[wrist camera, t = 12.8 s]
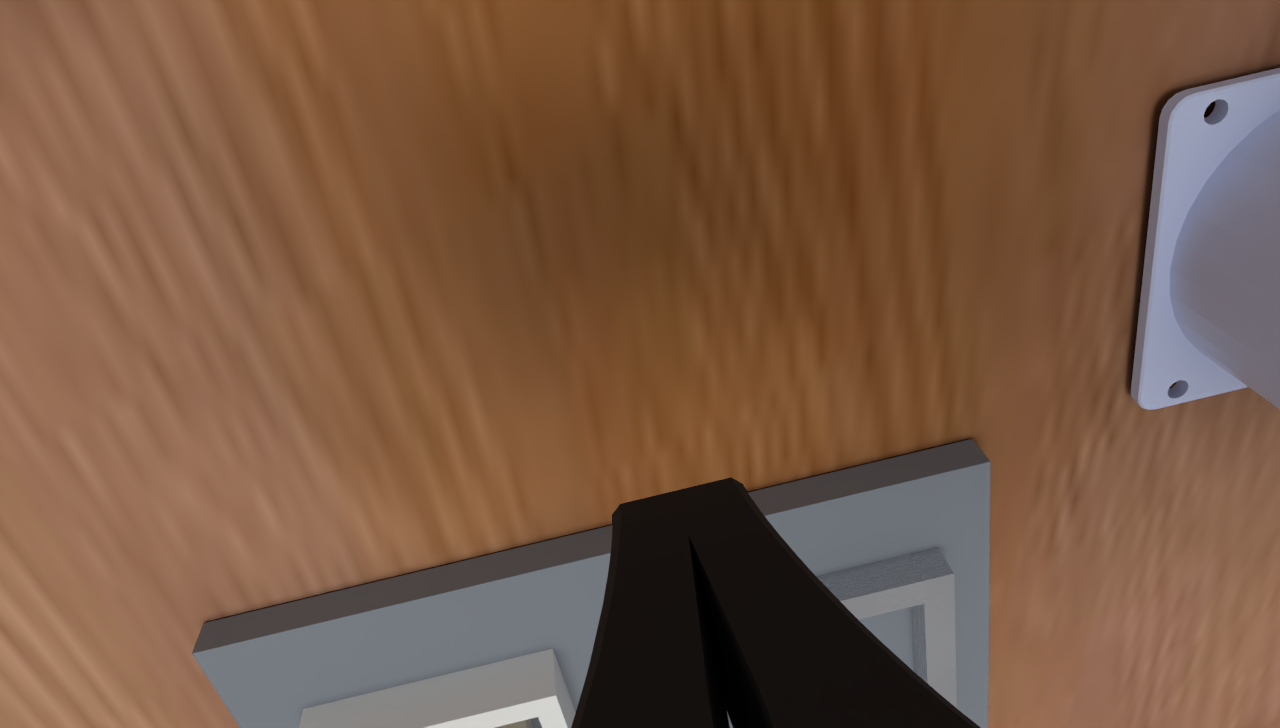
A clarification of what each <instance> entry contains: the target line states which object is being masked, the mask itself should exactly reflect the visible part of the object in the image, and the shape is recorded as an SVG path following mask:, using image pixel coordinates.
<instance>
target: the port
mask: <svg viewBox="0 0 1280 728" xmlns="http://www.w3.org/2000/svg"><path fill="white" fill-rule="evenodd" d="M574 716H575V710H574V707H573V704H572V701H571V699H570V696H569V693H568V690H567V687H566V684H565V682H564V679H563V676H562V673H561V670H560V667H559V664H558V662H557V659H556V656H555V653H554V650H553V649H549V650H545V651H541V652H537V653H533V654H528V655H524V656H520V657H516V658H512V659H508V660H504V661H500V662H495V663H491V664H487V665H483V666H479V667H475V668H471V669H466V670H462V671H458V672H454V673H450V674H446V675H442V676H438V677H433V678H429V679H425V680H421V681H417V682H413V683H409V684H405V685H400V686H396V687H392V688H388V689H384V690H380V691H376V692H372V693H367V694H363V695H359V696H355V697H351V698H347V699H343V700H338V701H334V702H330V703H326V704H322V705H318V706H314V707H310V708H305V709H303V712H302V716H301V720H300V725H299V728H495V727H499V726H503V725H507V724H511V723H515V722H519V721H523V720H528V719H532V718H536V717H538V718H539V721H540V723H541V726H542V728H571V727H572V723H573V720H574Z"/></svg>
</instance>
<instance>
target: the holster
mask: <svg viewBox="0 0 1280 728" xmlns="http://www.w3.org/2000/svg"><path fill="white" fill-rule="evenodd" d="M816 577H817V578H818V579H819V580H820V581H821V582H822V583H823V584H824V585H825V586H826V587H827V588H828V589H829V590H830V591H831V592H832V593H833V594H834V595H835V596H836V597H837V598H838V599H839V601H840V602H841V603H842V604H843V605H844V606H845V607H846V608H847V609H848V610H849V611H850V612H851V613H852V614H853V615H854V616H855V617H856V618H857V619H858V620H859V619H863V618H867V617H872V616H876V615H880V614H884V613H888V612H892V611H896V610H900V609H904V608H909V607H911V625H912V644H913V663H914V672H915V673H916V674H917V675H918V676H920V677H921V678H922V679H923V680H924V681H925V682H926V683H928V684H929V685H930V686H931V687H932V688H933V689H934V690H936V691H937V692H938V693H939V694H940V695H941V696H943V697H944V698H945V699H946V700H947V701H949V702H950V703H951V704H952V705H953V706H955V707H956V708H957V700H956V643H955V586H954V572H953V571H952V569H951V568H950V566H949V564H948V563H947V561H946V560H945V558H944V556H943V555H942V553H941V551H940V550H939V548H938V547H935V548H931V549H927V550H923V551H919V552H914V553H910V554H906V555H902V556H898V557H894V558H890V559H885V560H881V561H877V562H873V563H869V564H865V565H861V566H857V567H852V568H848V569H844V570H840V571H836V572H832V573H828V574H823V575H819V576H816Z"/></svg>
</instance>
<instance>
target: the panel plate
mask: <svg viewBox="0 0 1280 728" xmlns="http://www.w3.org/2000/svg"><path fill="white" fill-rule="evenodd" d="M990 465H991V462H990V460H989V459H988V458H987V457H986V455H985V454H984V453H983V452H982V450H981V449H980V448H979V447H978V445H977V444H976V443H975V442H974V440H973V439H969V440H965V441H961V442H957V443H952V444H948V445H944V446H940V447H936V448H932V449H927V450H923V451H919V452H915V453H911V454H907V455H902V456H898V457H894V458H890V459H886V460H882V461H877V462H873V463H869V464H865V465H861V466H857V467H852V468H848V469H844V470H840V471H836V472H832V473H827V474H823V475H819V476H815V477H811V478H807V479H802V480H798V481H794V482H790V483H786V484H782V485H777V486H773V487H769V488H765V489H761V490H757V491H752V492H748V494H749V495H750V497H751V498H752V499H753V501H754V502H755V504H756V505H757V506H758V508H759V509H760V511H761V512H762V513H763V515H764V516H765V517H766V518H767V520H768V521H769V522H770V524H771V525H772V526H773V527H774V529H775V530H776V531H777V532H778V533H779V535H780V536H781V537H782V538H783V539H784V541H785V542H786V543H787V544H788V545H789V546H790V548H791V549H792V550H793V551H794V552H795V553H796V555H797V556H798V557H799V558H800V559H801V560H802V561H803V562H804V564H805V565H806V566H807V567H808V568H809V569H810V570H811V571H812V572H813V574H814V575H815V576H819V575H823V574H828V573H832V572H836V571H840V570H844V569H848V568H852V567H857V566H861V565H865V564H869V563H873V562H877V561H881V560H885V559H890V558H894V557H898V556H902V555H906V554H910V553H914V552H919V551H923V550H927V549H931V548H935V547H938V548H939V550H940V551H941V553H942V555H943V556H944V558H945V560H946V561H947V563H948V564H949V566H950V568H951V569H952V571H953V572H954V586H955V643H956V700H957V709H958V710H959V711H961V712H962V713H963V714H964V715H966V716H967V717H968V718H969V719H971V720H972V721H973V722H974V723H976V724H977V725H978V726H979V727H981V728H988V669H989V567H990ZM611 543H612V525H611V526H606V527H602V528H598V529H594V530H590V531H586V532H581V533H577V534H573V535H569V536H565V537H561V538H556V539H552V540H548V541H544V542H540V543H536V544H531V545H527V546H523V547H519V548H515V549H511V550H506V551H502V552H498V553H494V554H490V555H486V556H481V557H477V558H473V559H469V560H465V561H461V562H456V563H452V564H448V565H444V566H440V567H436V568H431V569H427V570H423V571H419V572H415V573H411V574H406V575H402V576H398V577H394V578H390V579H386V580H381V581H377V582H373V583H369V584H365V585H361V586H356V587H352V588H348V589H344V590H340V591H336V592H331V593H327V594H323V595H319V596H315V597H311V598H306V599H302V600H298V601H294V602H290V603H286V604H281V605H277V606H273V607H269V608H265V609H261V610H256V611H252V612H248V613H244V614H240V615H236V616H231V617H227V618H223V619H219V620H215V621H211V622H206V623H204V624H203V626H202V629H201V631H200V634H199V637H198V639H197V642H196V644H195V647H194V650H193V652H192V655H193V656H194V658H195V659H196V661H197V662H198V664H199V665H200V667H201V668H202V670H203V671H204V673H205V674H206V676H207V678H208V679H209V681H210V682H211V684H212V685H213V687H214V688H215V690H216V691H217V693H218V694H219V696H220V697H221V699H222V700H223V702H224V704H225V705H226V707H227V708H228V710H229V711H230V713H231V714H232V716H233V717H234V719H235V720H236V722H237V723H238V725H239V727H240V728H299V725H300V720H301V716H302V712H303V709H305V708H310V707H314V706H318V705H322V704H326V703H330V702H334V701H338V700H343V699H347V698H351V697H355V696H359V695H363V694H367V693H372V692H376V691H380V690H384V689H388V688H392V687H396V686H400V685H405V684H409V683H413V682H417V681H421V680H425V679H429V678H433V677H438V676H442V675H446V674H450V673H454V672H458V671H462V670H466V669H471V668H475V667H479V666H483V665H487V664H491V663H495V662H500V661H504V660H508V659H512V658H516V657H520V656H524V655H528V654H533V653H537V652H541V651H545V650H549V649H553V650H554V653H555V656H556V659H557V662H558V664H559V667H560V670H561V673H562V676H563V679H564V682H565V684H566V687H567V690H568V693H569V696H570V699H571V701H572V704H573V707H574V710H575V713H576V710H577V706H578V703H579V699H580V696H581V693H582V689H583V686H584V682H585V679H586V675H587V671H588V668H589V664H590V659H591V655H592V651H593V646H594V642H595V637H596V633H597V628H598V624H599V619H600V615H601V610H602V606H603V600H604V594H605V588H606V583H607V577H608V570H609V563H610V554H611ZM859 621H860V622H861V623H862V624H863V625H864V626H865V627H866V628H867V629H868V630H869V631H871V632H872V633H873V634H874V635H875V636H876V637H877V638H878V639H879V640H880V641H881V642H882V643H883V644H884V645H885V646H886V647H888V648H889V649H890V650H891V651H892V652H893V653H894V654H895V655H896V656H897V657H898V658H900V659H901V660H902V661H903V662H904V663H905V664H906V665H907V666H908V667H909V668H911V669H912V670H913V671H914V663H913V644H912V625H911V607H909V608H904V609H900V610H896V611H892V612H888V613H884V614H880V615H876V616H872V617H867V618H863V619H859ZM727 714H728V713H727ZM728 720H729V726H730V728H733V727H732V724H731V721H730V718H729V715H728ZM531 723H532V727H533V728H542V726H541V723H540V721H539V718H538V717H536V718H532V719H531Z"/></svg>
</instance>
